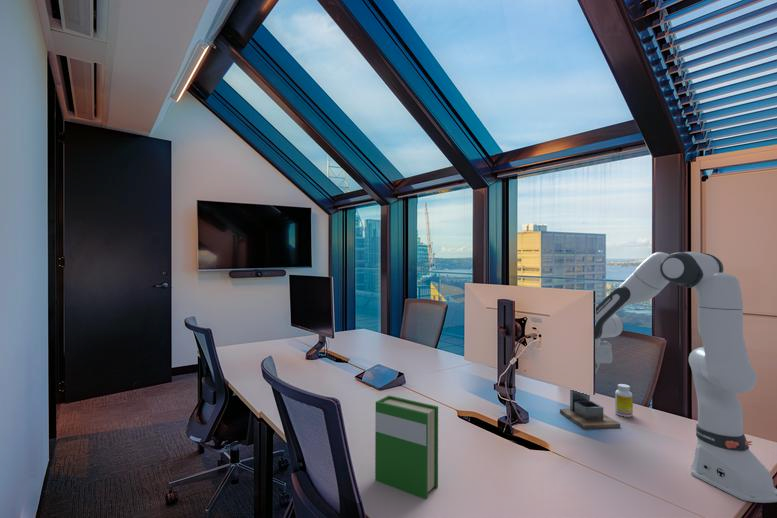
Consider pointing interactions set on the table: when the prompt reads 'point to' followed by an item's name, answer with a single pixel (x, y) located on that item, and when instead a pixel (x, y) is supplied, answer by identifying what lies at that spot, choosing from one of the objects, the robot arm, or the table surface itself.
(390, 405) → the hardback book
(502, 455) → the table surface
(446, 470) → the table surface
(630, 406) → the supplement bottle
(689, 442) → the table surface
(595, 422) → the walnut base board
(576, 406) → the grey open holder
